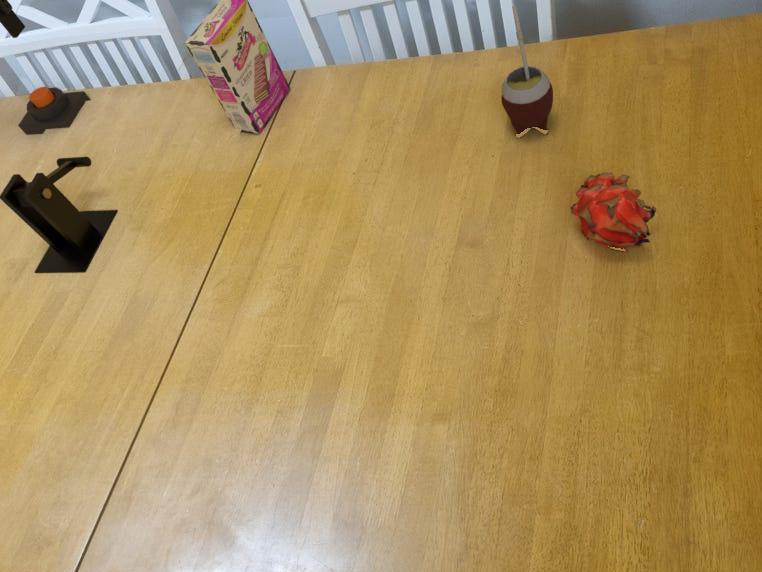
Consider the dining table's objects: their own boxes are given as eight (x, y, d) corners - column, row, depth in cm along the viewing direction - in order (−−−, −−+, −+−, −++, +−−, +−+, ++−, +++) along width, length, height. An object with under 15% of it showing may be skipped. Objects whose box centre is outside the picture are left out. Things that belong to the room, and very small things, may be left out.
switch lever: (67, 168, 111) (59, 153, 110) (94, 166, 110) (86, 151, 109) (13, 207, 103) (3, 191, 101) (42, 206, 101) (33, 190, 100)
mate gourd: (532, 149, 102) (514, 56, 90) (494, 127, 106) (472, 35, 94) (569, 119, 104) (557, 23, 91) (531, 98, 108) (514, 4, 95)
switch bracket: (73, 216, 115) (14, 155, 105) (122, 214, 113) (66, 152, 103) (39, 277, 109) (-27, 218, 99) (89, 276, 107) (27, 217, 97)
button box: (26, 135, 131) (10, 117, 127) (46, 104, 135) (31, 86, 131) (73, 131, 128) (57, 113, 125) (92, 101, 132) (77, 82, 129)
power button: (32, 109, 128) (25, 101, 126) (41, 95, 130) (34, 87, 128) (49, 108, 127) (42, 99, 126) (58, 94, 129) (51, 85, 127)
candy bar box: (261, 135, 116) (209, 45, 103) (236, 132, 118) (181, 43, 105) (293, 88, 121) (247, -4, 108) (268, 86, 123) (220, -5, 109)
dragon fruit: (587, 209, 96) (646, 270, 91) (542, 214, 91) (603, 279, 86) (619, 154, 91) (685, 216, 86) (575, 156, 85) (641, 222, 80)
